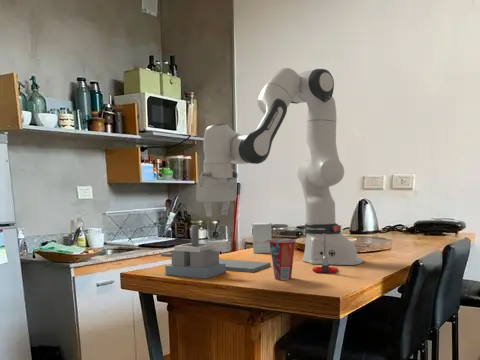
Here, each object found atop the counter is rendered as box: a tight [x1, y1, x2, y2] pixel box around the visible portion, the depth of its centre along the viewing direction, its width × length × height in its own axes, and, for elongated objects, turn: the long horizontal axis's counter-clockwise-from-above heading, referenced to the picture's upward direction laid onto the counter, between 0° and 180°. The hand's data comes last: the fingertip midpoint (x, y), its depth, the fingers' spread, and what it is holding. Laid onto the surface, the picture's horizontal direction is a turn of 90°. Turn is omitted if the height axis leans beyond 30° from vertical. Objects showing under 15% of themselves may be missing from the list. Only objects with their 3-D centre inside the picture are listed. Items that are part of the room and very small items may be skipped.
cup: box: [265, 238, 297, 281], centre depth 147 cm, size 9×8×12 cm
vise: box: [160, 224, 226, 279], centre depth 160 cm, size 22×12×16 cm, turn 62°
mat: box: [219, 258, 272, 273], centre depth 170 cm, size 22×14×1 cm, turn 62°
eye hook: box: [173, 240, 232, 253], centre depth 157 cm, size 18×10×3 cm, turn 62°
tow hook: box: [312, 234, 339, 274], centre depth 160 cm, size 8×13×9 cm
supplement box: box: [251, 222, 273, 254], centre depth 207 cm, size 7×7×13 cm
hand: (217, 215), depth 155 cm, fingers open, 8 cm apart
